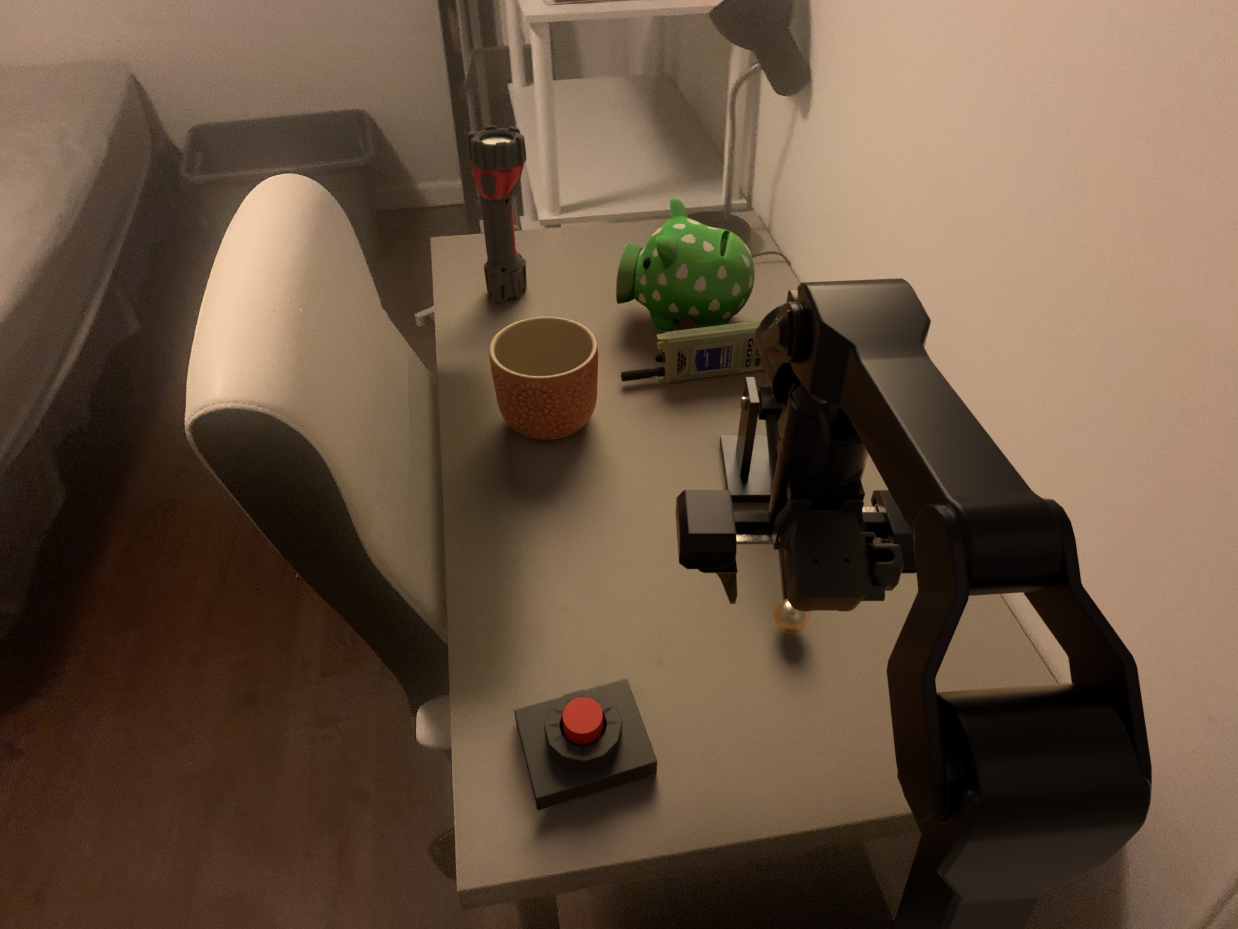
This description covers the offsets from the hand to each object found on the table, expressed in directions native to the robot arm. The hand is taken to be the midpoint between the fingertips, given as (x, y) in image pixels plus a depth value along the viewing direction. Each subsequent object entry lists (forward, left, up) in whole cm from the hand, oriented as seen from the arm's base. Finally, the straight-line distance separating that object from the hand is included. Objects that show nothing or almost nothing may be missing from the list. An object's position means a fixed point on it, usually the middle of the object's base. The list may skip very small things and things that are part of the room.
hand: (789, 599), depth 64 cm
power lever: (+15, -7, -7) cm, 18 cm away
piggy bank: (+57, -14, -12) cm, 60 cm away
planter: (+41, +10, -12) cm, 44 cm away
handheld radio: (+44, -13, -12) cm, 47 cm away
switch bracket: (+25, -10, -12) cm, 29 cm away
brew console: (-1, +18, -12) cm, 21 cm away
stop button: (-1, +18, -8) cm, 20 cm away
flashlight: (+73, +8, -12) cm, 75 cm away
